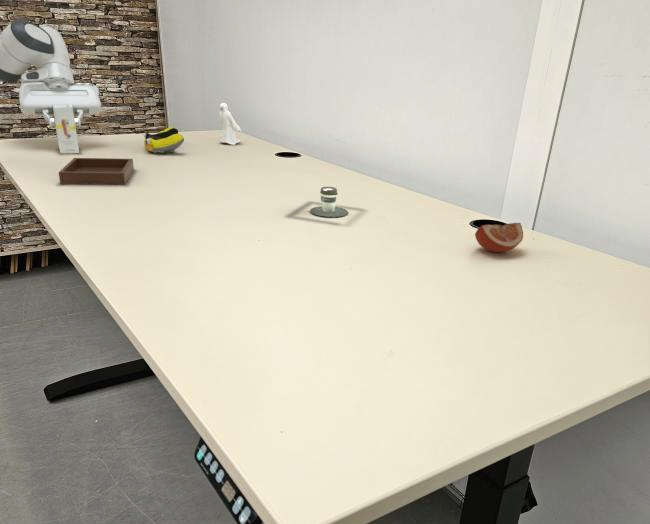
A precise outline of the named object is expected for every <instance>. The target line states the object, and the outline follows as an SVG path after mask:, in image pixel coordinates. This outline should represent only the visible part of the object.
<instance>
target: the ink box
mask: <svg viewBox="0 0 650 524" xmlns="http://www.w3.org/2000/svg"><path fill="white" fill-rule="evenodd" d="M72 107H73V106H72V104H62V105H53V111H54V115H53V118H54V119H55V126H56V127H55V131H56V139H57V144H58V150H59V153H60V155H61V154H62V155H63V154H64V155H65V154H80V147H79V141H78V134H77V127H76V125H75V119H74V118H75V115H74V113H73V108H72Z"/></svg>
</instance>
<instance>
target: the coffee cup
mask: <svg viewBox="0 0 650 524" xmlns="http://www.w3.org/2000/svg"><path fill="white" fill-rule="evenodd" d="M319 193H320V201H321V205H320V206H314V207H311V208H310V209H309V212H310V214H312V215H314V216H316V217H317V216H318V217H321V218H322V217H324V218H342V217H345V216H347V215H348V214H349V211H348V210H347V209H346V208H343V207H340V206H336V202H337V196H338V194H339V193H338V189H337V188H336V187H333V186H323V187H321V188H320V192H319Z"/></svg>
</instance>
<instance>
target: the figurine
mask: <svg viewBox="0 0 650 524" xmlns="http://www.w3.org/2000/svg"><path fill="white" fill-rule="evenodd" d="M219 109H220V111H218V117H219V118H218V120H219V125H220V127H221V136H220V139H219V142H220V143H222V144H223V143H224V144H225V143H226V144H229V145H232V146H234V145H237V144H238V143H241V140H240V139H239V138H238V137H237V136H236V133H235V131H236V132H240V133H242V132H243V130H242V127H240V125H239V124H238V123H237V122H236V120H235V119H234V117H233V115H232V113H231V112H230V111H229V106H228V104H227V103H226V102H221V103H220V104H219ZM234 130H235V131H234Z"/></svg>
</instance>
